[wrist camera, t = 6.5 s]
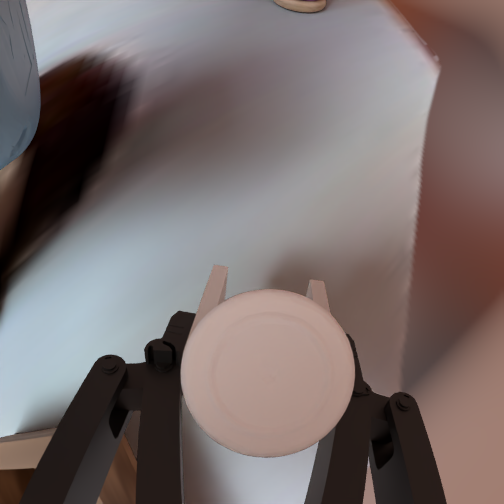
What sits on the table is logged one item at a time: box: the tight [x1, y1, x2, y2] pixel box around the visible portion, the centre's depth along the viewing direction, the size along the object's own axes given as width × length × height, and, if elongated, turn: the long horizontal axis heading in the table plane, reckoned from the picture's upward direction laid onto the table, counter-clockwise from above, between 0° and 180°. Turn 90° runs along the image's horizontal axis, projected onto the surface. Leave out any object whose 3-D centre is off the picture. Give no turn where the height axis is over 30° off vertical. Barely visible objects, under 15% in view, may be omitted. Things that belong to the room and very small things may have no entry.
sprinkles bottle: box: [181, 289, 355, 458], centre depth 14 cm, size 5×5×13 cm
